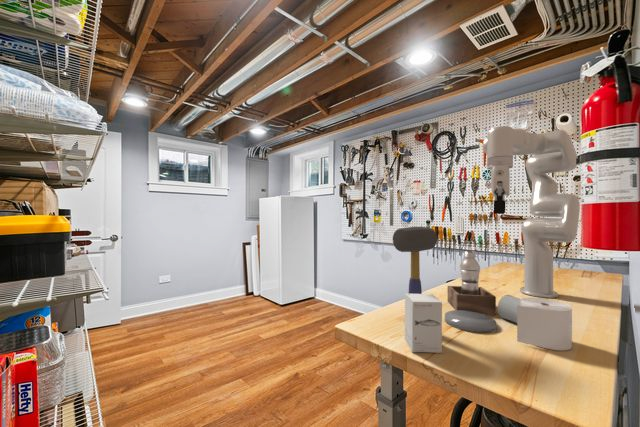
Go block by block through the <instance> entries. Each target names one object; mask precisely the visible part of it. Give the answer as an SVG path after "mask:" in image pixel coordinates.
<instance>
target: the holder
mask: <svg viewBox="0 0 640 427" xmlns="http://www.w3.org/2000/svg"><path fill="white" fill-rule="evenodd" d="M461 289H462V285H447V303H448V304H449V305H450V306H451V307H452V308H453V309H454V310H465V311H472V312H477V313H481V314H484V315H497V296H495V295H494V294H492V293H491V292H489V290H487V289H485V288H484V287H482V286H478V289H479V295H466V294H461Z"/></svg>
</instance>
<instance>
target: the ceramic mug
mask: <svg viewBox="0 0 640 427" xmlns="http://www.w3.org/2000/svg"><path fill="white" fill-rule="evenodd" d="M521 299H522V298H519V297H517V296H513V295H511V294H505V295H503V296H502V297H501V298H500V299H499V300H498V304H497V313H498V315H499V316H500V317H501V318H503V319H505V320H508V321H509V322H512V323H515V324H517V305H519V306H520V300H521Z"/></svg>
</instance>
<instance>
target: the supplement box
mask: <svg viewBox="0 0 640 427" xmlns="http://www.w3.org/2000/svg"><path fill="white" fill-rule="evenodd" d="M404 340H405V343H406V344H407V346H408V347H409V349H410V351H411V352H412V353H433V354H434V353H435V354H442V352H443V351H442V350H443V302H442V301H441V300H440V299H439V298H438V297H436V296H435V295H434V294H433V293H422V294H409V293H404Z"/></svg>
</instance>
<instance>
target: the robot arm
mask: <svg viewBox="0 0 640 427" xmlns="http://www.w3.org/2000/svg"><path fill="white" fill-rule="evenodd" d="M482 150H483V152H484V153H485V154H486V170H489V171H490V186H491V187H490V188H491V195H492V197H493V198H494V200H493V214H494V215H504V214H506V200H505V197H506V198H508V197H509V196H510V195H511V193H510V192H511V191H510V190H511V189H510V188H511V185H510V182H511V181H510V180H511V179H510V177H511V176H510V173H511V172H510V169H512V168H514V156H530V157H528V158H527V159H526V161H525V168H526V173H527V174H528V177H529V179H530V181H531V183H532V191H531V197H530V202H529V212H530V214H531V215H533V216H535V217H532V218H531V217H530V218H527V219H525V220H524V221H523V222H522V223H521V234H522V239H523V249H524V251H523V252H524V254H523V255H524V257H523V258H524V261H523V263H524V265H523V268H524V269H523V270H524V272H523V274H524V275H523V277H524V278H523V279H524V280H523V281H522V282H523V284H524V285H523V287H520V288H519V292H520V293H522V294H525V295H529V296H532V297H536V298H544V299H549V298H551V299H553V298H554V299H555V298H558V297H559V293H558V292H557V291H555V290H554V251H553V249H552V248H551V247H550V246H549V244H548V243H550V242H551V243H565V244H566V243H567V244H568V243H572V242H574V241H575V240H576V238H577V234H578V228H579V227H578V226H579V219H580V213H581V212H580V210H581V205H580V204H581V202H580V200H579V197H578V196H577V195H575V194H573V193H558V192H559V191H558V190H559V184H558V183H557V182H556V181H555V179H553V178H552V177H551V176H549V175H548V174H552V173H553V174H554V173H563V172H571V171H573V170H576V168H577V167H578V164H576V158H577V157H578V153H577V152H576V149H575V145H574V143H573V141H572V138H571V137H570V135H569V133H568V132H566V131H565V130H564V129H557V130H552V131H548V132H543V133H535V132H529V131H526V130H524V129H519V128H513V127H512V126H509V125H502V126H501V125H499V126H495V127H492V128H490V129H489V130H488V132H487V134H486V137H485V138H484V140H483V141H482ZM547 242H548V243H547Z"/></svg>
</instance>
